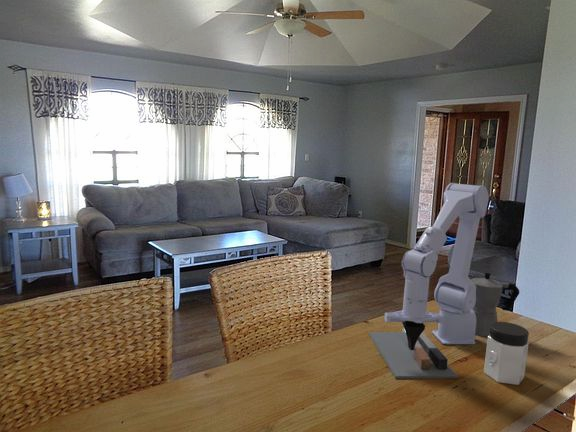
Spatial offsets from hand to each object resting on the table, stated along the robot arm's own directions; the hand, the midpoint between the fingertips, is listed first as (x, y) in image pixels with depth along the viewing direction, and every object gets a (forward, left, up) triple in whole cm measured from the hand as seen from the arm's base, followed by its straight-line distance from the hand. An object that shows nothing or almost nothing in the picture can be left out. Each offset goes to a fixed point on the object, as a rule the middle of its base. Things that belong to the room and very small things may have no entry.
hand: (410, 348), depth 110 cm
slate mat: (0, -2, -3) cm, 3 cm away
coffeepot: (-29, -16, -3) cm, 33 cm away
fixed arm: (-5, -1, -2) cm, 6 cm away
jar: (-20, +9, -3) cm, 22 cm away
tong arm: (-3, -3, -2) cm, 4 cm away
